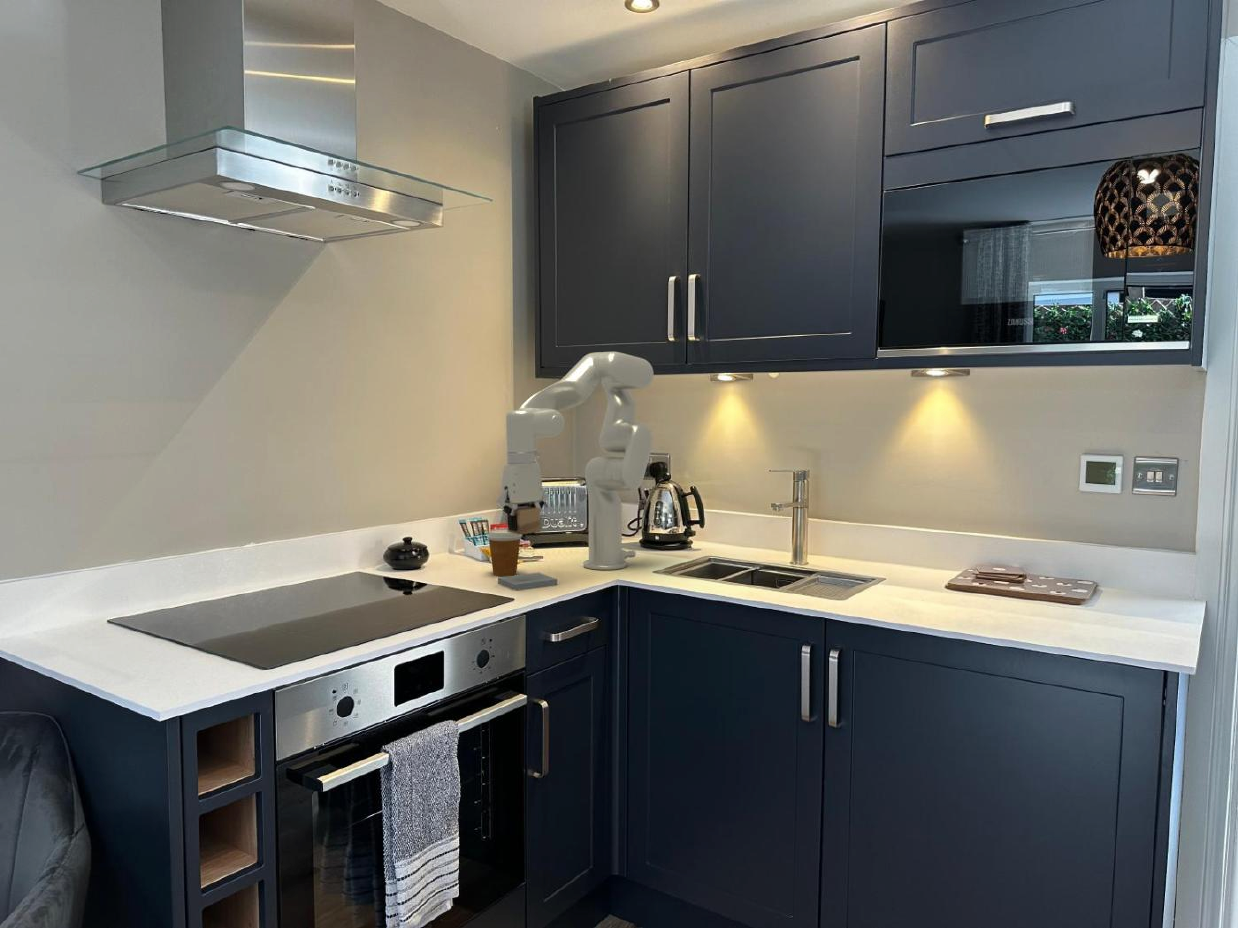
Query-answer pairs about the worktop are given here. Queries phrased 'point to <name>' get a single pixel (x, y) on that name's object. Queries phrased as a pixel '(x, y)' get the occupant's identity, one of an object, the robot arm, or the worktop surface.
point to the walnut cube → (527, 520)
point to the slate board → (527, 581)
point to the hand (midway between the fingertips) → (523, 528)
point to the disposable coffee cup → (504, 551)
